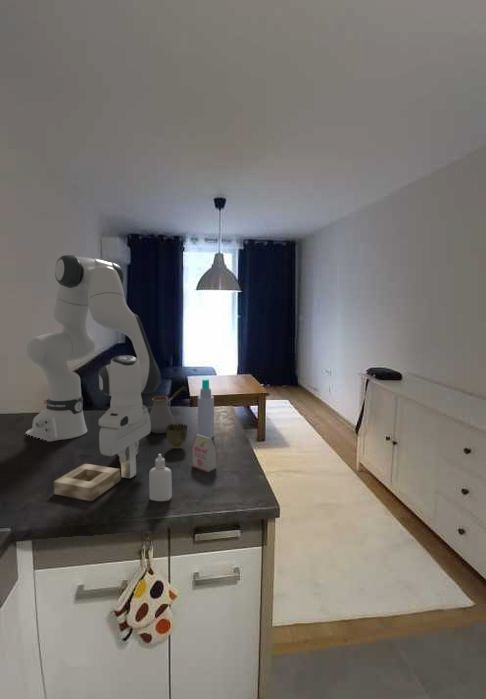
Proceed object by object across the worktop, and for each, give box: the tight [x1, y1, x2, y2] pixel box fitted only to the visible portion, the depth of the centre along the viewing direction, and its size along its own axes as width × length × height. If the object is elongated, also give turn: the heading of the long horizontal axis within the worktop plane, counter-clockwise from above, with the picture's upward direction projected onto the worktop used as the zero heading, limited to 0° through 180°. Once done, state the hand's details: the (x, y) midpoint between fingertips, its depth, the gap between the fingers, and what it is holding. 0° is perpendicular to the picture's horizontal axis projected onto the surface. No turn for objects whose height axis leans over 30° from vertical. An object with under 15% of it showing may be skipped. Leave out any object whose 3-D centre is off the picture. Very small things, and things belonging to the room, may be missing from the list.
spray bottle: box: [197, 378, 215, 439], centre depth 145 cm, size 6×6×22 cm
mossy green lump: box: [165, 422, 188, 451], centre depth 134 cm, size 8×7×8 cm
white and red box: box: [191, 433, 217, 473], centre depth 119 cm, size 4×7×10 cm, turn 52°
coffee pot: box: [149, 385, 188, 434], centre depth 157 cm, size 21×12×15 cm, turn 150°
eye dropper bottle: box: [148, 453, 173, 502], centre depth 100 cm, size 4×6×12 cm
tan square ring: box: [53, 463, 121, 502], centre depth 106 cm, size 12×12×4 cm
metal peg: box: [120, 443, 137, 479], centre depth 112 cm, size 3×3×10 cm
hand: (128, 458), depth 112 cm, fingers closed on metal peg, 3 cm apart
